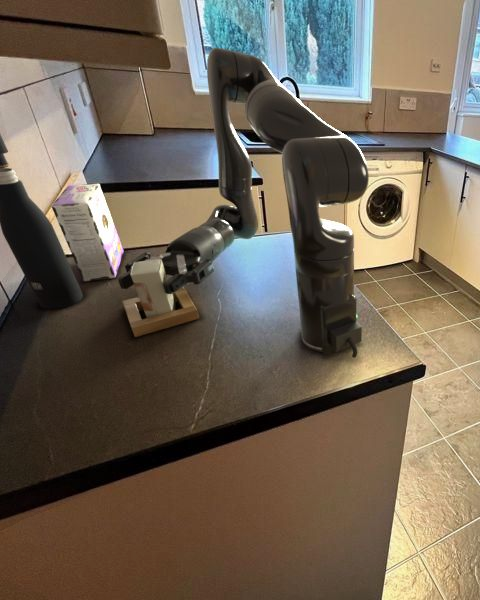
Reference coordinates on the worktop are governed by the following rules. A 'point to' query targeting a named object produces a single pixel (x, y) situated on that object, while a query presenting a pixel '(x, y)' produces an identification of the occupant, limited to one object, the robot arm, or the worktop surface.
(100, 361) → the worktop surface
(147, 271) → the white tall rectangular block
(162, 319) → the frame
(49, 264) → the dark grey bottle
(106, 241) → the candy box
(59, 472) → the worktop surface
